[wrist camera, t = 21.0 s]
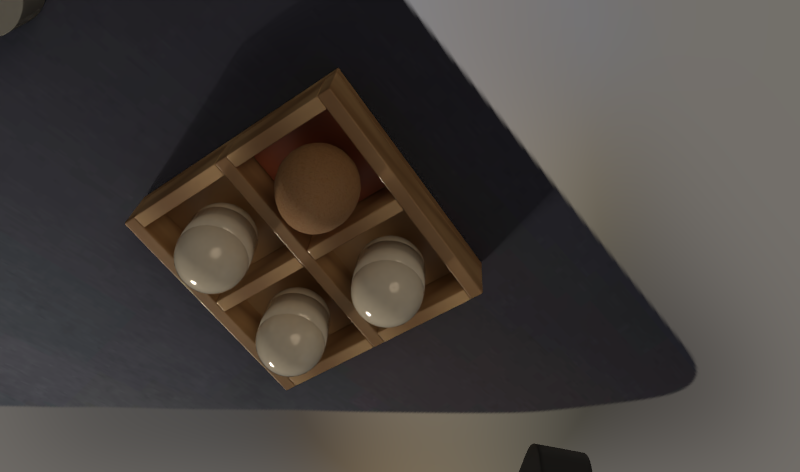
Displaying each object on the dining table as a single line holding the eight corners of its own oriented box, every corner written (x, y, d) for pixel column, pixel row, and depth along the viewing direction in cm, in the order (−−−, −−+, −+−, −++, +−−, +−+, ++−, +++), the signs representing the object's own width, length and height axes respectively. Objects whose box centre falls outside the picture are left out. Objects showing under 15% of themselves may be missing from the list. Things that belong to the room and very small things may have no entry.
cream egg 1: (234, 177, 42) (203, 232, 37) (279, 229, 44) (255, 288, 38) (183, 210, 43) (146, 267, 38) (228, 259, 45) (198, 320, 40)
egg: (277, 131, 40) (250, 181, 35) (358, 123, 40) (344, 173, 34) (294, 203, 42) (271, 261, 37) (371, 196, 42) (359, 254, 37)
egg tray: (338, 67, 39) (329, 88, 36) (482, 263, 44) (483, 293, 42) (144, 197, 44) (123, 223, 41) (295, 358, 49) (286, 391, 47)
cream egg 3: (401, 210, 42) (394, 269, 37) (440, 260, 44) (437, 323, 39) (345, 242, 44) (330, 303, 39) (384, 289, 45) (375, 353, 40)
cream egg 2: (308, 263, 45) (288, 325, 40) (348, 308, 46) (334, 374, 41) (258, 291, 46) (233, 355, 41) (298, 335, 48) (278, 401, 42)
